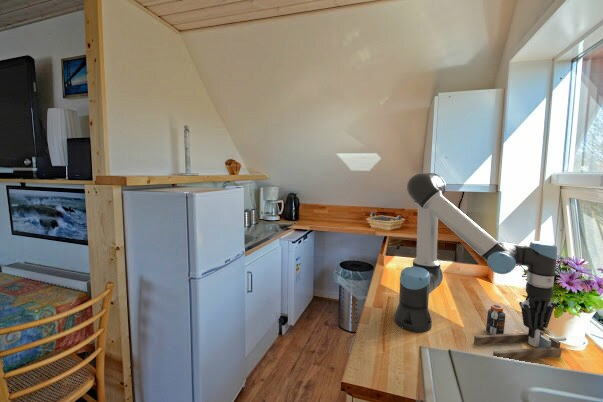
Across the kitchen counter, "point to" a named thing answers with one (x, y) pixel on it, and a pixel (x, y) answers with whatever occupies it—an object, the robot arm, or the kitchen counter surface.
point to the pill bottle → (495, 320)
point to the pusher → (548, 341)
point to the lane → (522, 353)
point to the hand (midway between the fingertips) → (533, 344)
